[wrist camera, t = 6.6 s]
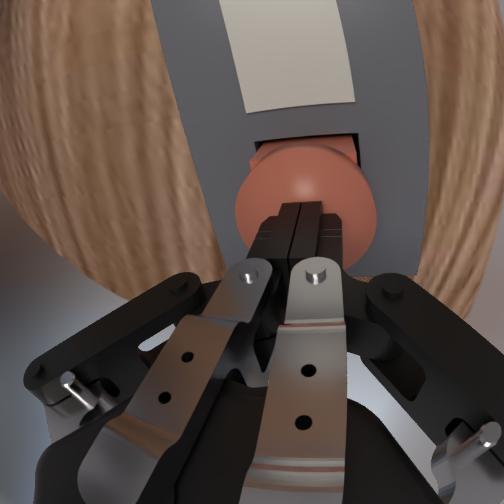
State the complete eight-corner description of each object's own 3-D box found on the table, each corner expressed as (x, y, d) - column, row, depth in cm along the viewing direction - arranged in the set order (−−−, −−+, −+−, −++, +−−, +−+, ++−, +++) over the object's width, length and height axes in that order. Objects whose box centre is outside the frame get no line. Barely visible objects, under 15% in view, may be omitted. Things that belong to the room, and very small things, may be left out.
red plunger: (263, 121, 16) (220, 161, 10) (357, 113, 14) (375, 148, 9) (279, 203, 19) (250, 277, 14) (363, 199, 18) (374, 277, 12)
